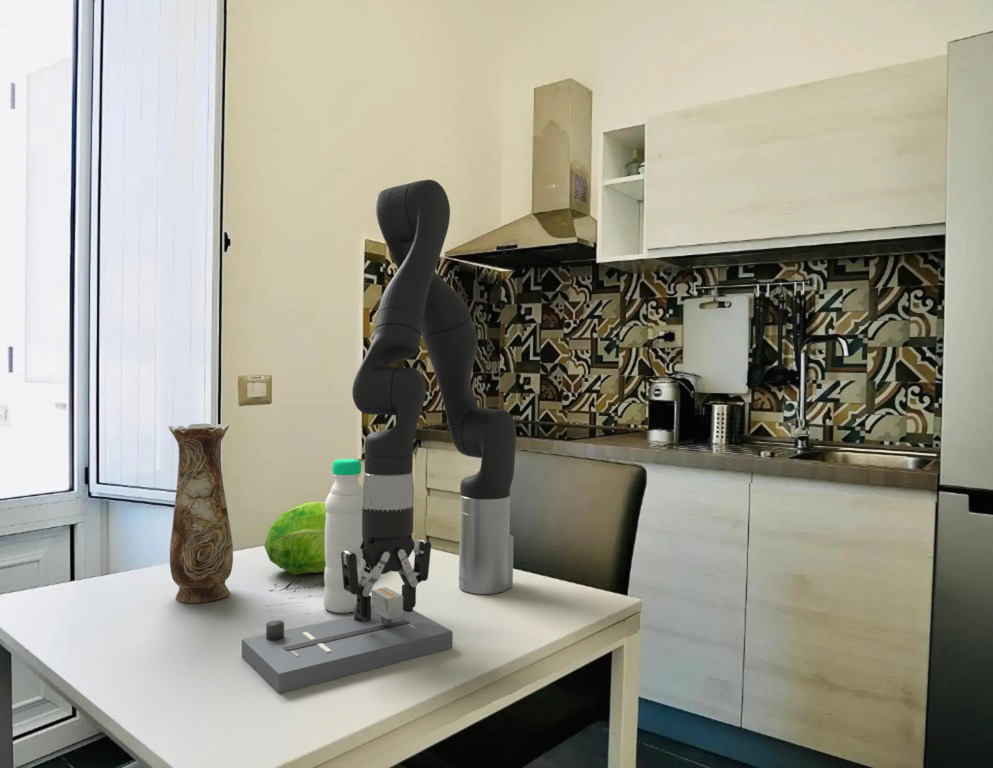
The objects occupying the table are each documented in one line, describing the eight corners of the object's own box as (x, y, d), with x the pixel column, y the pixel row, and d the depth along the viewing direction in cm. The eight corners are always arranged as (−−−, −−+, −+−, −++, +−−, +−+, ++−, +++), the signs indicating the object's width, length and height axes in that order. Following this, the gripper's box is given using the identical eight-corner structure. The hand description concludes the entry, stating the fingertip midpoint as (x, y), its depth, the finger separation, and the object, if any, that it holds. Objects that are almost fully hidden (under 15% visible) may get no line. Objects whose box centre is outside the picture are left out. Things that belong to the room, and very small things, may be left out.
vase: (206, 608, 123) (207, 428, 123) (154, 601, 126) (154, 426, 126) (245, 590, 133) (246, 424, 132) (195, 583, 136) (196, 421, 136)
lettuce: (373, 578, 142) (374, 508, 141) (263, 586, 136) (264, 512, 136) (363, 558, 156) (364, 494, 156) (264, 564, 151) (264, 497, 150)
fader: (386, 617, 112) (386, 586, 112) (402, 627, 108) (403, 595, 108) (371, 620, 110) (371, 589, 110) (387, 630, 106) (387, 598, 106)
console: (403, 620, 119) (404, 592, 119) (452, 647, 108) (452, 617, 108) (241, 656, 103) (241, 624, 103) (278, 693, 92) (279, 657, 92)
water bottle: (356, 616, 121) (358, 463, 120) (316, 612, 122) (318, 461, 121) (372, 602, 128) (374, 458, 127) (334, 599, 129) (336, 456, 128)
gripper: (417, 494, 116) (415, 600, 117) (331, 503, 107) (330, 617, 108) (443, 502, 110) (441, 613, 111) (354, 512, 101) (353, 633, 102)
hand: (386, 614), depth 109 cm, fingers open, 6 cm apart
